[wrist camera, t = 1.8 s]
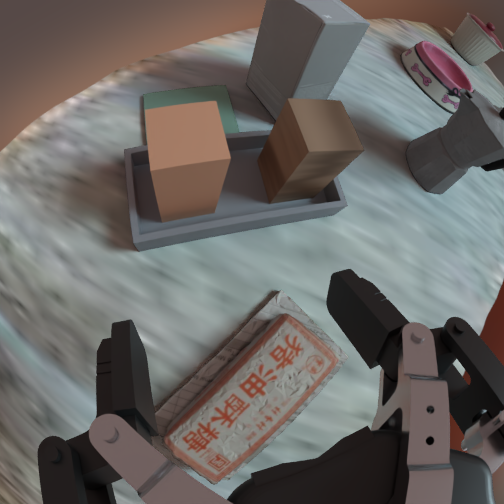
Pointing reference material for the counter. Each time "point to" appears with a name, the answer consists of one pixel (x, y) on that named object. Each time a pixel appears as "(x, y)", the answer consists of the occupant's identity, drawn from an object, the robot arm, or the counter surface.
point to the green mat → (195, 96)
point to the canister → (476, 40)
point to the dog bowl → (436, 74)
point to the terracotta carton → (187, 158)
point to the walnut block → (307, 149)
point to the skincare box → (302, 50)
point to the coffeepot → (459, 144)
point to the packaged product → (249, 391)
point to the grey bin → (220, 199)
